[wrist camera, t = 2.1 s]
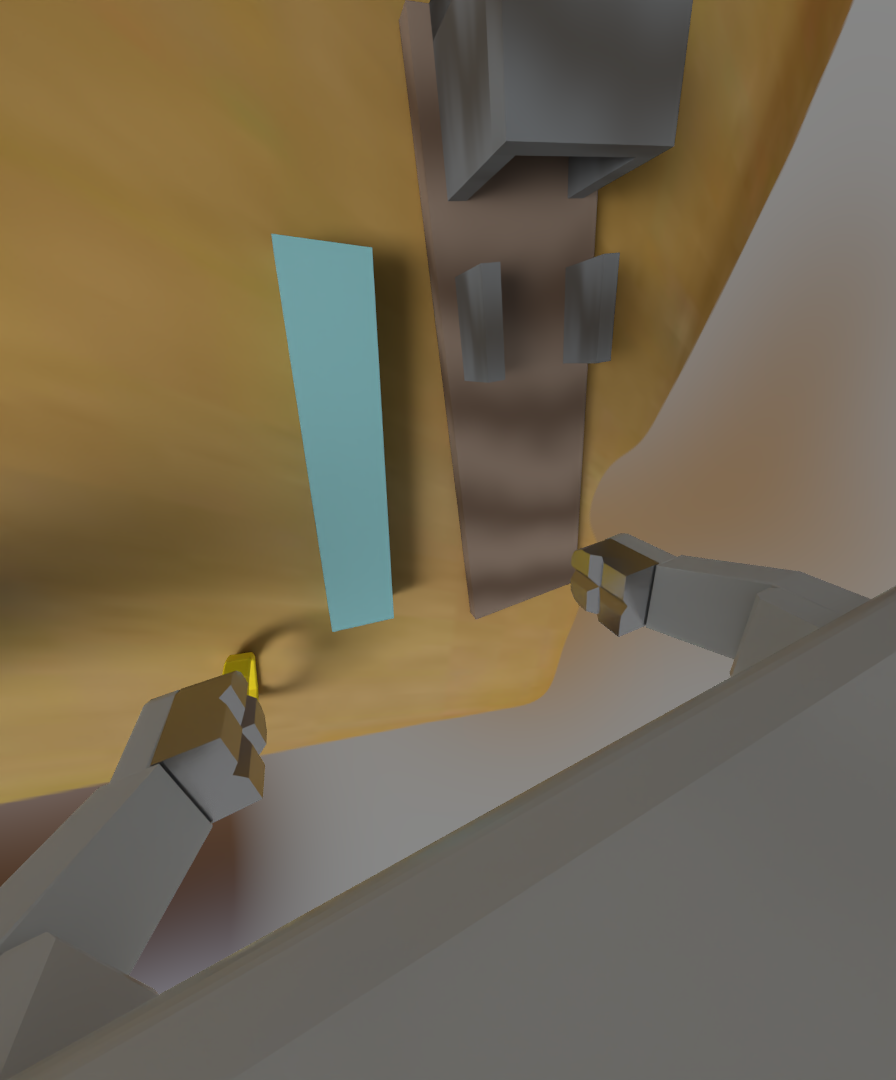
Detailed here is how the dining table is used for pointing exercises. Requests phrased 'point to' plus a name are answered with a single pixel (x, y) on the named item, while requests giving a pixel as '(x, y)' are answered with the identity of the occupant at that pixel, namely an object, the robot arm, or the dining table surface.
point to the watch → (244, 670)
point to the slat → (340, 418)
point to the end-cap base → (528, 245)
